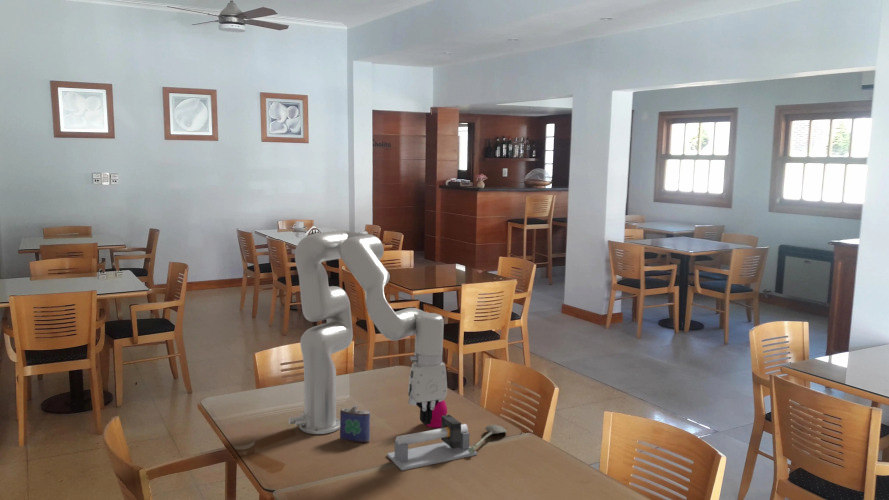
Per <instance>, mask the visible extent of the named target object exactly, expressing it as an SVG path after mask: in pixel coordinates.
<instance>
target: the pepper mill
mask: <svg viewBox="0 0 889 500" xmlns="http://www.w3.org/2000/svg"><path fill="white" fill-rule="evenodd" d="M444 415H448V407H447V404H446V401H445V400H443V401H441V402H438V403H437V404H436V406H435V407H434V410H432V420H431V424H427V425H426V426H427V427H428V428H433V429H440V428H441V425H442V416H444Z"/></svg>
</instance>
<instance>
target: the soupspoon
mask: <svg viewBox="0 0 889 500" xmlns="http://www.w3.org/2000/svg"><path fill="white" fill-rule="evenodd" d="M484 430H486V431H487V432H488V433H487V434H485V435H484V436H483V437H481V439H480V440H479V441H478V442H477V443H476V444H473V446H471V448H469V449H468V451H469V452H470V453H474V450H475V451H476V449H477V447H478V446H479V445H480V444H481V443H483V442H484V441H485V440H486V439H487V438H488V437H490V436H492V435H494V434H500V433H501V434H503V433H507V432H508V430H507V429H506V428H505V427H503V426H500V425H497V424H490V425H487V426H485V429H484Z"/></svg>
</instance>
